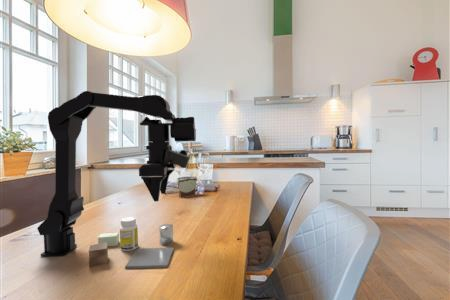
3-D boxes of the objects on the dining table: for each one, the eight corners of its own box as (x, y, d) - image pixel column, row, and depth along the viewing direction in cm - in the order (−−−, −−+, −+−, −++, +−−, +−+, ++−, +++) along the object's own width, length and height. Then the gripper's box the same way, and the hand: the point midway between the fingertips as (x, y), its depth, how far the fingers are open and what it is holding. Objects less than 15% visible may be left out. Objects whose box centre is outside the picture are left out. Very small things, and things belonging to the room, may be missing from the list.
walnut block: (89, 267, 63) (88, 251, 62) (90, 260, 66) (90, 245, 66) (107, 264, 64) (106, 248, 64) (107, 257, 68) (107, 242, 68)
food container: (191, 193, 147) (191, 175, 146) (197, 194, 142) (197, 176, 142) (172, 196, 139) (171, 178, 139) (177, 198, 134) (177, 179, 134)
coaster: (125, 268, 62) (125, 266, 61) (137, 250, 71) (137, 248, 71) (167, 267, 62) (167, 265, 62) (173, 249, 72) (173, 247, 72)
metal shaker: (158, 245, 75) (157, 228, 74) (161, 240, 79) (160, 224, 78) (172, 245, 75) (171, 228, 75) (174, 240, 79) (173, 224, 79)
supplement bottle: (132, 243, 77) (131, 215, 76) (141, 247, 74) (140, 218, 73) (117, 248, 73) (116, 219, 73) (125, 253, 70) (124, 222, 70)
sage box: (98, 247, 74) (98, 237, 74) (101, 243, 77) (100, 233, 77) (116, 246, 75) (116, 236, 75) (118, 242, 78) (118, 232, 78)
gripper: (183, 141, 62) (184, 205, 63) (191, 141, 81) (191, 190, 82) (137, 142, 62) (139, 206, 63) (155, 141, 81) (156, 190, 81)
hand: (160, 197), depth 72 cm, fingers open, 9 cm apart
